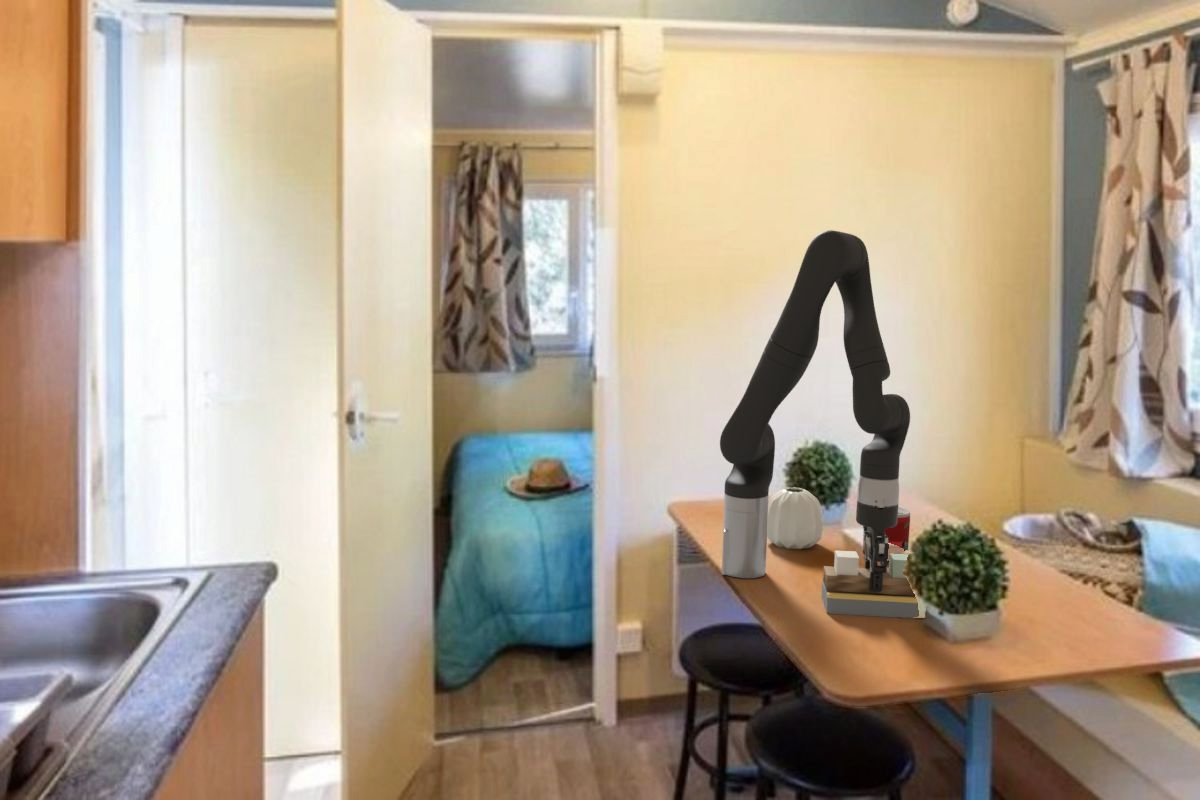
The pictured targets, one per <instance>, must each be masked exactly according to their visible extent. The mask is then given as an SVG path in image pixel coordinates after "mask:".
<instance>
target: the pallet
mask: <svg viewBox="0 0 1200 800" xmlns="http://www.w3.org/2000/svg"><path fill="white" fill-rule="evenodd" d="M822 575H823V577H822V582H824V585H825V587H826V590H827V591H844V592H861V593H877V594H894V595H911V596H915V594H914V593H913V591H912V589H911V587H910V584H909V582H908V580H907V578H892V576H891V574H890V572H889V569H887V571H886V573H883V581H882V591H881V592H872V591H870V589H869V586H870V569H866V568H865V567H859V571H858V576H853V575H837V574H836V572H835V569H834V566H831V565H829V566H828V565H823V574H822Z"/></svg>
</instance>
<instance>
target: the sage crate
mask: <svg viewBox="0 0 1200 800" xmlns="http://www.w3.org/2000/svg"><path fill="white" fill-rule="evenodd" d="M908 555H909V553H908V554H894V553H890V555H889V562H888V570H889V572H890V574H891V576H892V578H906V577H905V576H904V574H903V569H904V567H905V564H906V560H907V557H908Z"/></svg>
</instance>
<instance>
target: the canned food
mask: <svg viewBox="0 0 1200 800" xmlns="http://www.w3.org/2000/svg"><path fill="white" fill-rule="evenodd" d="M910 525H911V511H910V510H908V509H906V508H903V507H899V506H898V520H897V525H896V526H895V527H892V528H887V529H885V533H886V536H888V543H891V544H894V545H897V546H899V547H900V548H903V549H904V551H905V550H907V549H908V550H909V542H910V529H911V528H910Z"/></svg>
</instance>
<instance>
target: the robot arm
mask: <svg viewBox="0 0 1200 800" xmlns="http://www.w3.org/2000/svg"><path fill="white" fill-rule="evenodd" d="M799 267H800V268H799V271H798V273H797V276H796V279H795V282H794V284H793V288H792V290H791V293H790V294H789V297H788V299H787V301H786V303H785V305H784V308H783V309H782V311H781V314H780V317H779V319H778V321H777V323H776V324H775V327H774V328H773V331H772V333H771V334H770V337H769V339H768V341H767V343H766V346H765V347H764V350H763V351H762V354H761V356H760V358H759V361H758V363H757V366H756V368H755V370H754V372H753V373H752V376H751V379H750V380H749V384H748V385H747V387H746V389H745V392H744V394H743V396H742V398H741V399H740V402H739V403H738V405H737V406H736V407H735V410H734V411H733V413H732V415H731V416H730V418H729V419H728V420H727V423H726V424H725V426H724V428H723V429H722V431H721V434H720V440H719V447H720V448H719V449H720V452H721V454H722V457H723V458H724V459H725V460H726V461H727V462H728V463H730V464H732V468H731V471H730V473H729V475H728V476H727V477H726V479H725V481H724V496H723V498H724V501H723V502H724V503H723V524H722V525H723V526H722V527H723V528H722V552H721V553H722V558H721V559H722V561H721V575H722V576H729V577H733V578H738V579H756V578H761V577H764V576H765V575H766V570H767V568H766V567H767V548H768V547H767V544H768V542H767V539H768V537H767V521H768V501H769V495H770V494H769V493H770V491H769V489H770V486H771V482H772V480H773V476H774V468H775V467H774V465H775V464H774V463H775V451H776V440H775V434H774V430H773V428H772V426H771V425H770V424H769V423H770V421H771V419H772V417H773V415H774V414H775V412H776V410H777V409H778V407H779V406H780V405H781V403H782V402H783V401H785V399H786V398H787V397H788V396H789V394H790V393H791V392H792V391H793V390H794V388H796V386H797V385H798V384H799V382H800V381H801V379H802V377H803V376H804V374H805V372H806V371H807V369H808V367H809V365H810V363H811V360H812V358H813V357H814V355H815V353H816V350H817V347H818V343H819V337H820V336H819V335H820V320H821V315H822V314H821V313H822V310H823V306H824V304H825V302H826V300H827V297H828V296H829V294H830V292H831V290H832V288H833V286H834V285H835V284H836V286H837V288H838V291H839V294H840V297H841V299H842V305H843V315H844V317H843V319H844V320H843V348H844V352H845V356H846V359H847V363H848V367H849V370H850V373H851V374H850V375H851V377H852V410H853V411H852V412H853V416H854V419H855V420H856V421H855V422H856V423H857V425H858V426H859V428H860V429H861V430H862V431H863V432H865V433H867V434H870V435H873V437H872V440H871V442H869V443H868V444H866V445H865V446H863V448H862V449H861V453H860V460H859V461H860V465H859V477H858V478H859V479H858V483H857V495H856V514H855V516H856V517H855V521H856V523H857V524H859V525H860V526H862V529H863V537H862V538H863V540H862V541H863V542H862V543H863V545H862V547H863V548H862V555H864V556H863V561H865V562H864V568H866V569H870V586H869V589H870V591H872V592H881V591H882V581H883V573H886V571H887V570H888V569H887V566H888V562H887V559H888V549H889V544H888V536H886V533H885V529H887V528H892V527H895V526H896V525H897V520H898V507H899V499H900V484H899V482H900V481H899V478H900V477H899V476H900V461H901V460H900V457H901V454H902V450H903V448H904V445H905V441H906V439H907V435H908V432H909V427H910V423H911V411H910V407H909V404H908V402H907V401H906V399H905V398H904V397H902V396H901V395H900V394H895V393H886V394H884V393H883V382H884V381H886V380H888V379H889V378H890V375H891V368H890V363H889V360H888V357H887V353H886V348H885V345H884V343H883V339H882V335H881V332H880V331H881V330H880V328H879V323H878V318H877V313H876V309H875V308H876V307H875V301H874V294H873V287H872V279H871V270H870V269H871V267H870V260H869V254H868V250H867V246H866V245H865V242H864V241H863V240H862V239H861V238H860V237H858V236H857V235H854V234H851V233H847V232H843V231H839V230H833V229H831V230H830V229H829V230H825V231H822V232H820V233H819V234H817V235H816V236H815V237H814V238H813V239H811V242H810V243H809V245H808V247H807V249H806V250H805V253H804V256H803V259H802V261H801V264H800V266H799ZM878 562H880V565H878Z"/></svg>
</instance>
